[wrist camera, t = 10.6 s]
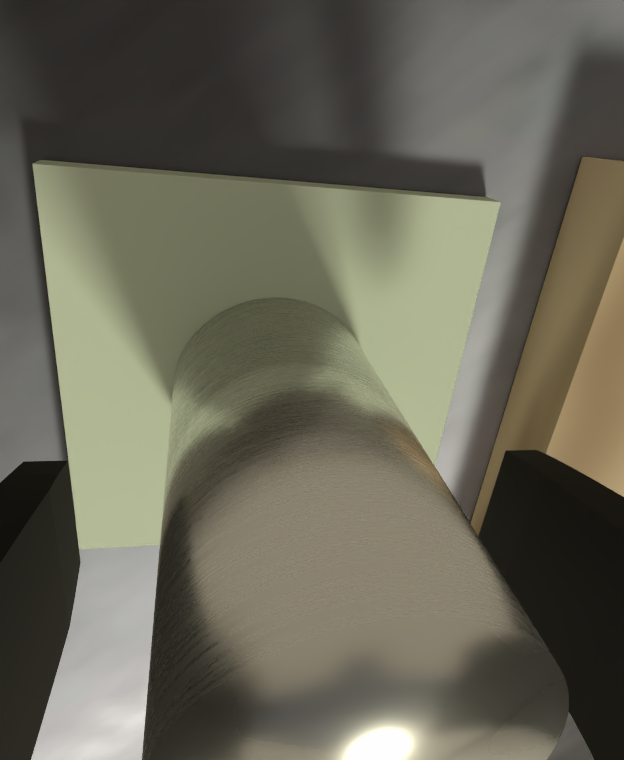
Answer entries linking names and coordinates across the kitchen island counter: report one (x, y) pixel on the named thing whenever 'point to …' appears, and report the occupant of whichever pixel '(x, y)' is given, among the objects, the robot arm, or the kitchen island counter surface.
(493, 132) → the kitchen island counter surface
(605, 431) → the bore block
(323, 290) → the sage mat
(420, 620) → the polished metal cylinder
